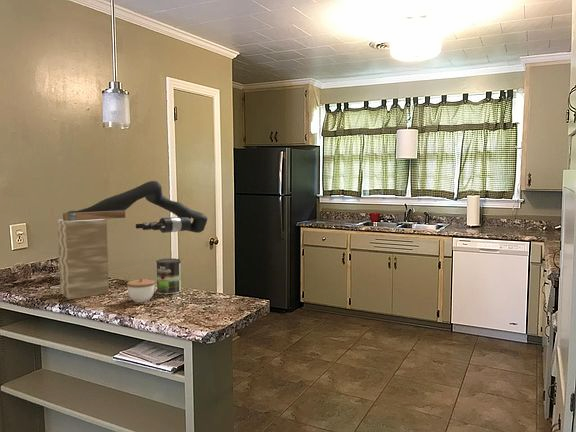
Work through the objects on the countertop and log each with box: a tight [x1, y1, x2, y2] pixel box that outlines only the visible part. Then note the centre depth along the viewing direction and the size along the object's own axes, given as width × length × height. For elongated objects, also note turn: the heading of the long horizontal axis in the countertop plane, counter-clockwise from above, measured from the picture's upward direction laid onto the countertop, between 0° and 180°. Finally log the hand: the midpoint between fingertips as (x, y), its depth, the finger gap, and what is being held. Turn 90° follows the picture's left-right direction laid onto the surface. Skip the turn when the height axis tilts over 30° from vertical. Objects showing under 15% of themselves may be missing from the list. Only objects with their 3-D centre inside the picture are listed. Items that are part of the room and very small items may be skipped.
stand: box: [57, 218, 110, 300], centre depth 202 cm, size 14×16×32 cm
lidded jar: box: [126, 277, 156, 304], centre depth 190 cm, size 11×11×9 cm
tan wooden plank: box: [62, 210, 126, 221], centre depth 204 cm, size 5×25×3 cm, turn 130°
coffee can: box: [155, 257, 182, 296], centre depth 204 cm, size 10×10×14 cm
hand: (139, 227), depth 227 cm, fingers open, 8 cm apart
